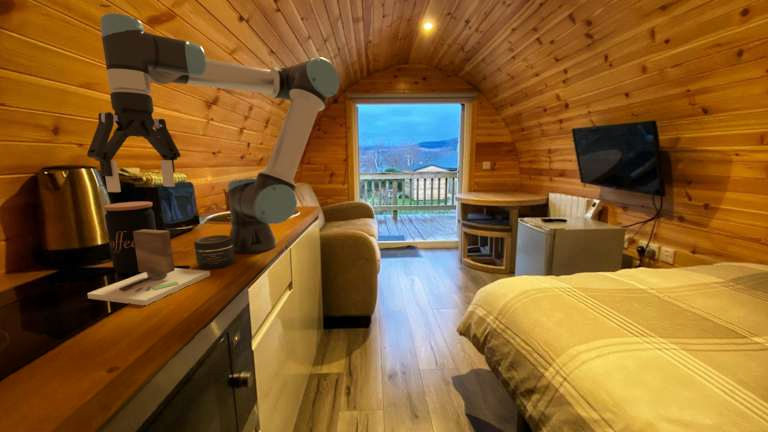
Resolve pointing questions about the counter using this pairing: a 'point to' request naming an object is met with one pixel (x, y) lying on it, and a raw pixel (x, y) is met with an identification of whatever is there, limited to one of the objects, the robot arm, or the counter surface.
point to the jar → (214, 251)
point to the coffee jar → (127, 231)
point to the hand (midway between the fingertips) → (144, 189)
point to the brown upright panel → (153, 254)
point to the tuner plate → (148, 287)
